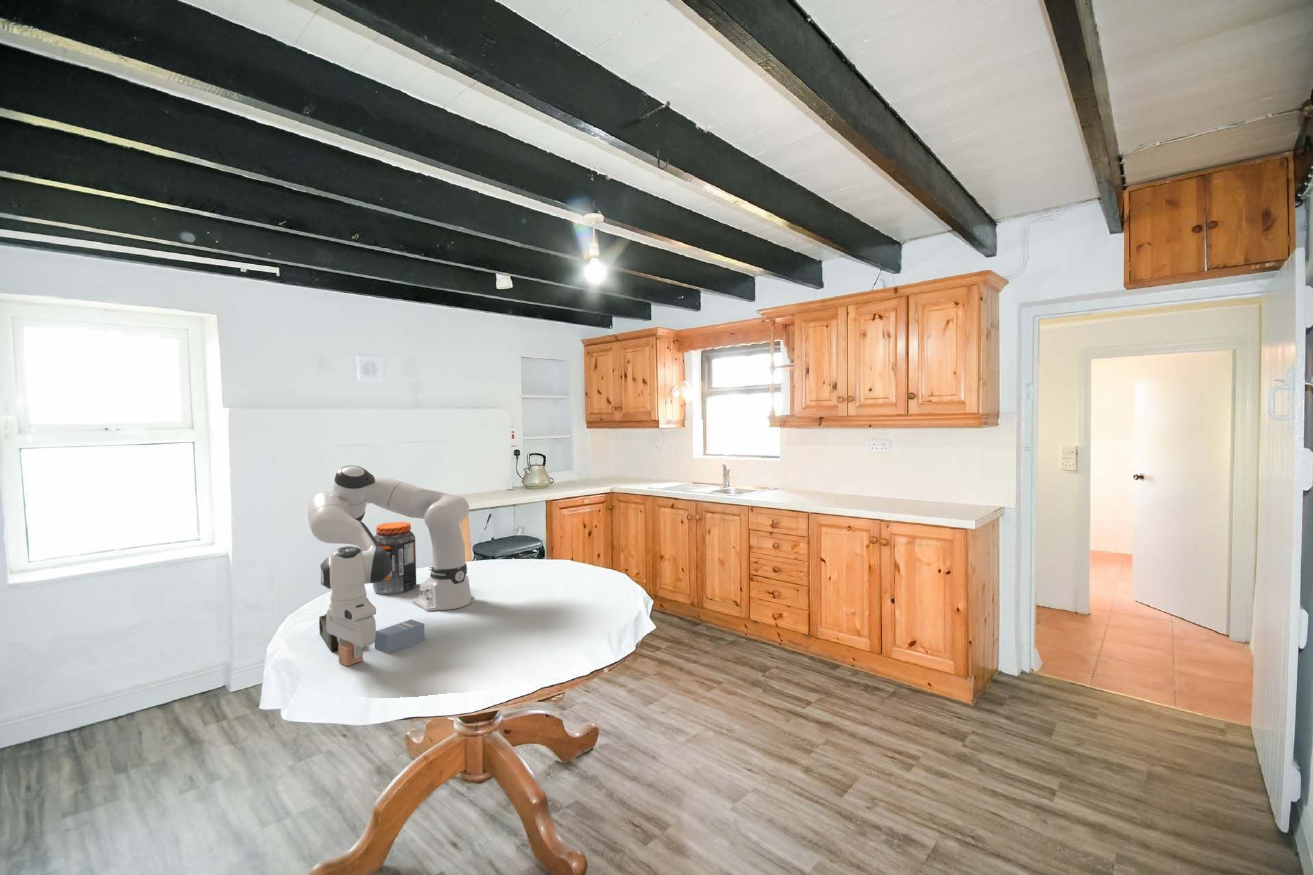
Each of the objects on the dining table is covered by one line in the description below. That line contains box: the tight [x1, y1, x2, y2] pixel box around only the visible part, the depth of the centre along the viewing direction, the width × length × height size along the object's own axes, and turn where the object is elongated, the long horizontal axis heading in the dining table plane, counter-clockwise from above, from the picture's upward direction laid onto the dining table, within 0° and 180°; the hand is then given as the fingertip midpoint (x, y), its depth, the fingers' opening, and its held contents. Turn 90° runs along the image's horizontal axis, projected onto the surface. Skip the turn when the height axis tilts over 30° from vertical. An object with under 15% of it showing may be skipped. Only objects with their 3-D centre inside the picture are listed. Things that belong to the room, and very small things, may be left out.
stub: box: [337, 642, 364, 667], centre depth 159 cm, size 4×4×5 cm
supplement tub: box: [372, 521, 417, 595], centre depth 225 cm, size 16×16×26 cm
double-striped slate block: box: [373, 619, 426, 654], centre depth 171 cm, size 7×12×5 cm, turn 146°
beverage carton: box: [318, 613, 348, 653], centre depth 175 cm, size 8×19×7 cm, turn 40°
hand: (350, 654), depth 159 cm, fingers open, 5 cm apart
